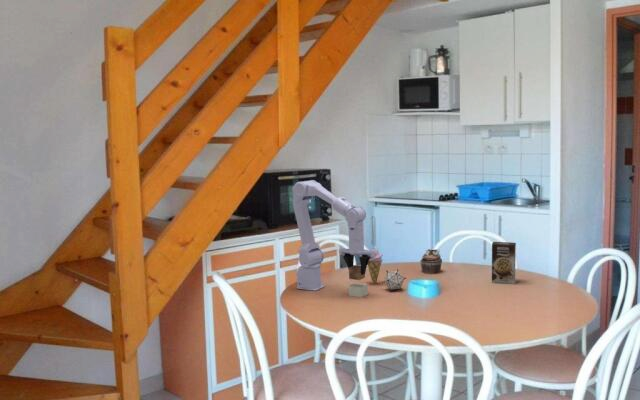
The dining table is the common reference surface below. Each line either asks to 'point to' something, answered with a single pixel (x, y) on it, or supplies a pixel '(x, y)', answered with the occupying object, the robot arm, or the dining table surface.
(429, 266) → the cupcake
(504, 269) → the coffee box
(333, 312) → the dining table surface
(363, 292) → the base block
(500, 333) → the dining table surface
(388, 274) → the game die
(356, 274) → the walnut cube
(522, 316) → the dining table surface
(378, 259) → the ice cream cone
